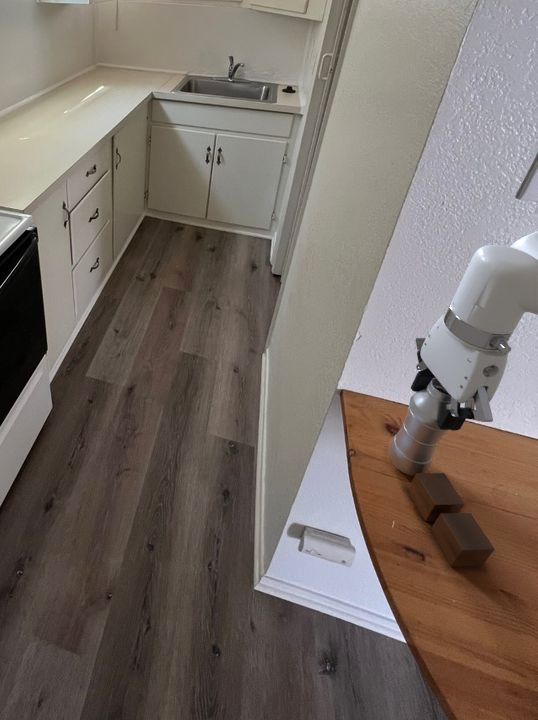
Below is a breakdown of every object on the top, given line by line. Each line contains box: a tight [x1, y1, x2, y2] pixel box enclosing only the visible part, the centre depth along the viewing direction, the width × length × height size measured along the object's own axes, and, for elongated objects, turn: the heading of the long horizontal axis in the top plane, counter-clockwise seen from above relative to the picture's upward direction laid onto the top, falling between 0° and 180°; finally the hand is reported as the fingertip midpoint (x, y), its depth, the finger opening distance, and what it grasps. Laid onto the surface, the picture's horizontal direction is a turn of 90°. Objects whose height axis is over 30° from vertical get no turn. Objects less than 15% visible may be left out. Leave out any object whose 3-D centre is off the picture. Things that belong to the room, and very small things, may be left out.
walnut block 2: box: [429, 512, 496, 567], centre depth 64 cm, size 5×5×5 cm
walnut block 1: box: [406, 472, 466, 522], centre depth 70 cm, size 5×5×5 cm
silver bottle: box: [387, 378, 451, 477], centre depth 72 cm, size 6×7×20 cm
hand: (433, 407), depth 70 cm, fingers closed on silver bottle, 6 cm apart
